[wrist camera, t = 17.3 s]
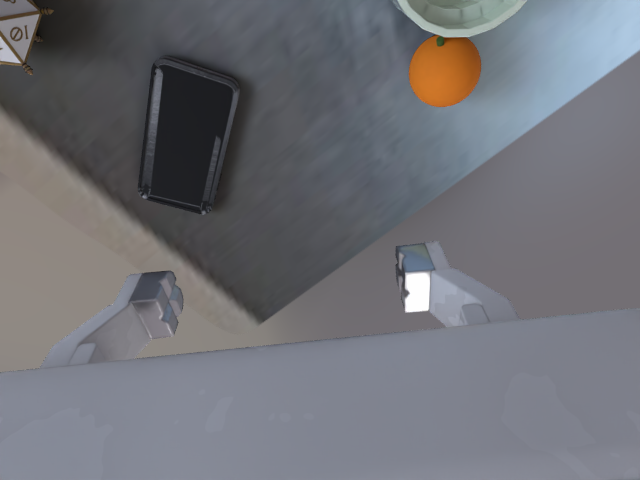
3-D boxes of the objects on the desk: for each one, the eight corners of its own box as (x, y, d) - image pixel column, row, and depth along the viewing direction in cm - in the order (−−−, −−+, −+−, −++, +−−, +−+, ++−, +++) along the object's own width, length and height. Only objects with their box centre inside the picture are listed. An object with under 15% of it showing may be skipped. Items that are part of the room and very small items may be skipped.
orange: (403, 93, 41) (389, 40, 36) (458, 58, 40) (452, -1, 35) (436, 132, 38) (426, 80, 33) (495, 95, 37) (496, 36, 32)
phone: (136, 197, 45) (153, 55, 37) (140, 192, 46) (156, 52, 38) (210, 216, 47) (242, 85, 38) (212, 211, 48) (243, 81, 39)
